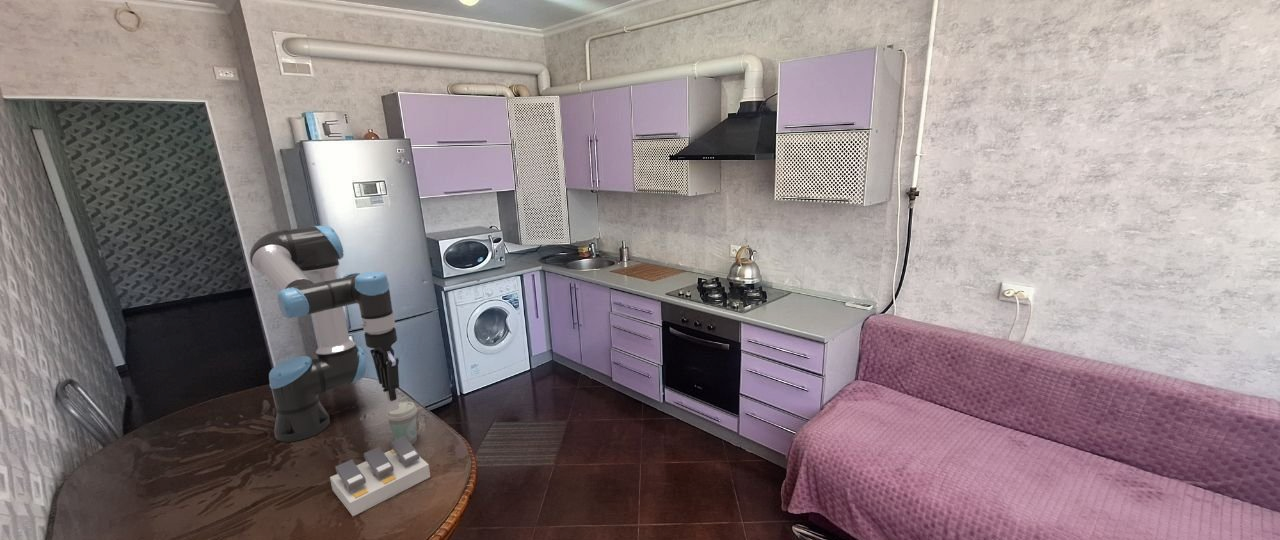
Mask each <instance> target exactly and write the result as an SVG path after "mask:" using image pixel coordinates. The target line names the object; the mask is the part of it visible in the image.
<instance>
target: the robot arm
mask: <svg viewBox="0 0 1280 540" xmlns="http://www.w3.org/2000/svg"><path fill="white" fill-rule="evenodd" d="M343 258H344V248H343V245H342V242H341V239H340V236H338V233H337V232H336V231H335V229H334V228H332V227H331V226H330V225H313V226H304V227H300V228H299V227H297V228H292V229H291V228H290V229H284V230H274V231H272V232H269V233H266V234H265V235H263V236H262V237H259V239H257V241H256V242H255V243H253V246H252V247H251V249H250V252H249V261H250V263H251V266H252V267H253V268H254V269H255V271H256V272H257V273H258V274H261V275H265V277H267V279H268V280H269V281H270V282H271V284H272V285H273V286H274V287H275V289H276V290H277V291H278V292H277V303H278V306H279V310H280V311H281V314H282V316H284V318H288V319H293V318H297V317H300V318H301V317H306V316H307V315H313V319H314V325H315V328H316V333H317V337H318V340H319V341H318V342H319V347H318V348H317V349H316V351H315V353H316V357H314V358H311V357H310V356H307V355H300V356H296V357H295V356H294V357H292V358H288V359H286V360H284V361H282V362H279V363H278V364H276V365H275V366H274V367H273V368H271V370H270V371H269V373H268V380H269V388H270V389H271V393H272V397H273V401H274V406H275V410H276V418H275V423H274V427H273V428H274V429H273V433H274V437H275V439H276V441H279V442H284V443H290V442H298V441H302V440H305V439H309V438H311V437H314V436H316V435H317V434H319V433H321V432H323V431H324V430H325V429H327V427H328V426H330V424H331V420H330V415H329V413H328V412H327V410H326V409H325V408H324V406H323V405H322V403H321V402H320V398H319V395H320V394H323V393H327V392H330V391H332V390H335V389H339V388H341V387H344V386H346V385H348V386H349V385H351V384H353V383H356V382H358V381H360V380H362V379H363V378H364V377H365V374H366V370H367V361H366V356H365V351H364V349H363V348H362V347H361V346H359V345H357V343H356V342H355V341H353V340H352V339H350V335H349V330H348V325H347V321H346V316H345V312H344V307H346V306H350V305H355V304H356V305H358V307H359V311H360V317H361V322H359V323H360V326H362V327H363V332H365V333H364V340H365V345H366V347H367V348H370V351H369V352H370V354H371V357H372V359H373V364H374V368H375V371H376V376H377V380H378V383H379V384H380V385H381V388H382V389H383V390H382V391H383V395H384V400H385V406H386V411H387V412H391V411H394V410H396V409H399V404H398V403H399V399H398V392H397V389H399V388H400V379H399V378H400V377H399V358H398V357H395V350H394V348H392V346H393V345H394V344H395V343H396V342H397V341H398V337H397V328H396V321H395V316H394V311H393V305H392V300H391V299H392V297H391V291H390V282H389V280H388V276H387V273H385V272H384V271H377V270H374V271H373V270H372V271H365V272H362V273H360V272H350V273H348V274H346V275H343V276H342V277H340V278H337V273H336V271H337V269H338V267H339V266H340V262H339V260H342V259H343Z"/></svg>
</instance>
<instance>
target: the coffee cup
mask: <svg viewBox="0 0 1280 540" xmlns="http://www.w3.org/2000/svg"><path fill="white" fill-rule="evenodd" d="M398 404H399V409H396V410H394V411H391V412H388V411H387V412H386V419H387V420H388V423H389V426H390V429H391V432H392V436H393V440H396V439H398V438H400V437H402V436H405V437H406V438H407V439H408V441H409V442H410V443H411V444H412V446H413V445H415V444H416V443H417V440H418V439H417V438H418V436H417V435H418V433H417V429H418V427H417V425H418V424H417V413H418V408H417V406H416V405H415V403H414V402H412V401H400V402H398Z"/></svg>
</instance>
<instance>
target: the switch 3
mask: <svg viewBox="0 0 1280 540" xmlns="http://www.w3.org/2000/svg"><path fill="white" fill-rule="evenodd" d="M389 442H390V443H389V444H390V447H391V450H392V449H393V450H394V452H395V453H396V454H397V456H398V457H399V458H400V460H401V461H402V462H403V464H404V465H405V466H406V465H408V464H410V463H412V462H414V461H416V460H418V459H419V456H420V454H419V451H417V450H416V448H415V447H414V446H413V445H412V444H411V443H410V442H409V441H408V439H407V438H406V437H405V436H402V437H400V438H398V439H396V440H395V439H393V440H391V441H389Z"/></svg>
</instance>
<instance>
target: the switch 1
mask: <svg viewBox="0 0 1280 540" xmlns="http://www.w3.org/2000/svg"><path fill="white" fill-rule="evenodd" d="M335 472H336V474H338V475H339V477H340V478H341V480H342V481H343V482H344V484H345V485H346V487H347V488H348V490H349V491H350V490H352V489H354V488H357V487H359V486H361V485H363V484H365V483H366V479H365V477H364V476H363V474H362V473H361V471H360V470H359V469H358V467H357V466H356V463H355V462H354V460H353V459H350V460H349V459H348V461H345V462H343V463H340V464H337V465H335Z"/></svg>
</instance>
